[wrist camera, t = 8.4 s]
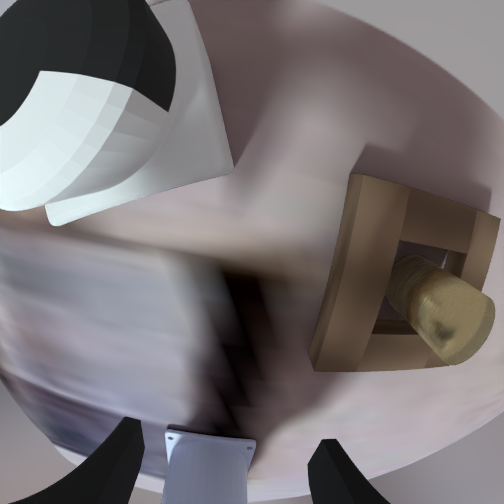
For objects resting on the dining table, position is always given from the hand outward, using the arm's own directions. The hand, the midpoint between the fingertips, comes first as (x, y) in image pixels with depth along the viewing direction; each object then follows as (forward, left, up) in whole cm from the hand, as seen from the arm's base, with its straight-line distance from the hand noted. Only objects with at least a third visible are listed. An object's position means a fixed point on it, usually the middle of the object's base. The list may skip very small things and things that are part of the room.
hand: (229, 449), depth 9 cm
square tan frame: (+5, -11, -9) cm, 15 cm away
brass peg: (+5, -11, -9) cm, 15 cm away
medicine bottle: (+12, +6, -9) cm, 16 cm away
